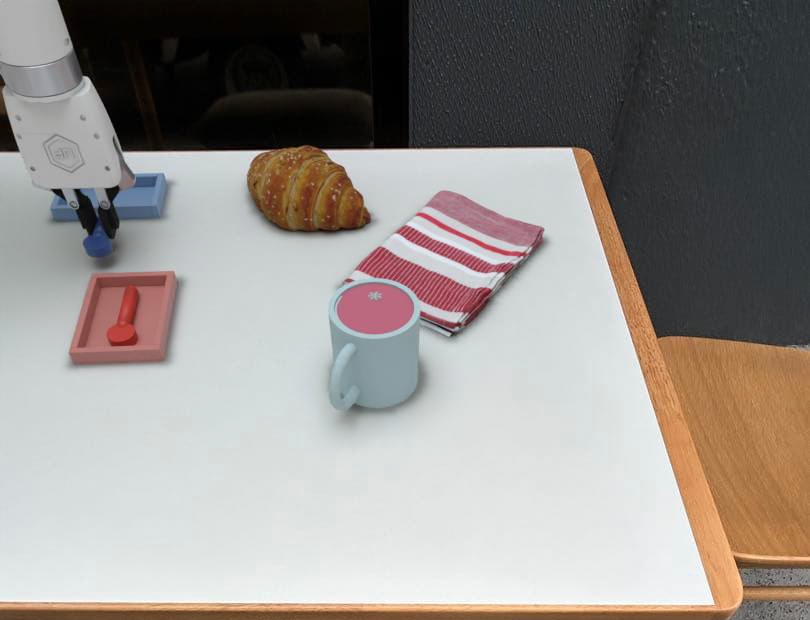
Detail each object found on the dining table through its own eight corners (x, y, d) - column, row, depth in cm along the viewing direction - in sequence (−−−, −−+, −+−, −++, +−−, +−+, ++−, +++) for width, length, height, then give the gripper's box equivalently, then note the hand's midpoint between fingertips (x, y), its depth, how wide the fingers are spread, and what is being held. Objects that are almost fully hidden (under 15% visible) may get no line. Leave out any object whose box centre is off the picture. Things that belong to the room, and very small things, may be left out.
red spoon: (121, 294, 82) (117, 283, 80) (148, 293, 82) (143, 282, 80) (107, 350, 76) (102, 339, 75) (136, 349, 76) (131, 338, 75)
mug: (361, 342, 78) (356, 268, 70) (431, 368, 76) (435, 295, 68) (298, 419, 72) (285, 347, 63) (373, 450, 70) (370, 380, 61)
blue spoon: (98, 211, 87) (94, 199, 86) (123, 211, 88) (119, 199, 86) (84, 258, 82) (79, 246, 81) (110, 257, 82) (106, 246, 81)
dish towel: (545, 242, 89) (549, 224, 87) (455, 342, 78) (456, 324, 76) (438, 201, 94) (439, 183, 91) (339, 290, 83) (338, 272, 81)
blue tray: (56, 223, 90) (49, 208, 88) (68, 189, 94) (62, 175, 93) (160, 220, 91) (156, 205, 89) (168, 187, 95) (163, 172, 93)
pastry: (387, 212, 92) (386, 153, 85) (327, 258, 87) (321, 199, 80) (277, 163, 99) (268, 104, 92) (214, 203, 93) (200, 144, 86)
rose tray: (164, 363, 76) (159, 349, 74) (75, 367, 76) (68, 352, 74) (178, 285, 84) (174, 270, 82) (97, 287, 83) (91, 273, 81)
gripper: (-47, 87, 67) (34, 251, 82) (112, 88, 68) (163, 250, 83) (-26, 53, 71) (47, 216, 86) (124, 54, 72) (170, 215, 87)
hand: (104, 232), depth 85 cm, fingers closed on blue spoon, 1 cm apart
